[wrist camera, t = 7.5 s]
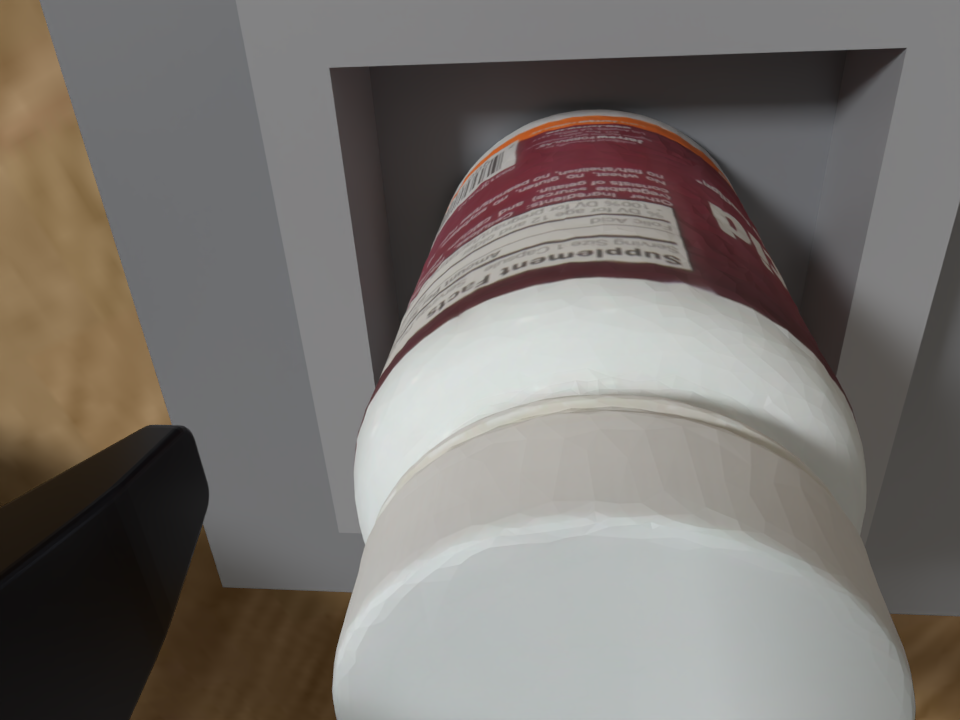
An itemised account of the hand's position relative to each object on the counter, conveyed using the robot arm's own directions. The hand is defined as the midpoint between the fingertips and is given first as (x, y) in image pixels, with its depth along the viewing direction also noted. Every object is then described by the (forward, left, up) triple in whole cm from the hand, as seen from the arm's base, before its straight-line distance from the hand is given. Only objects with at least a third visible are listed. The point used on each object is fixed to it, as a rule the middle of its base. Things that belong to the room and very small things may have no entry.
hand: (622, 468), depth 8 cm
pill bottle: (0, 0, -6) cm, 6 cm away
